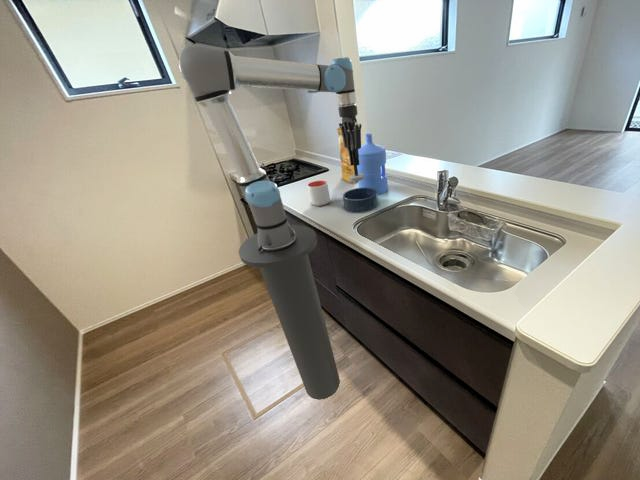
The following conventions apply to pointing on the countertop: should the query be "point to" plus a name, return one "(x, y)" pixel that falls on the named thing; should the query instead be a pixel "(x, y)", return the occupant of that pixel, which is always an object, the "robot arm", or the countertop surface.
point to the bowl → (360, 200)
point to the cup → (319, 193)
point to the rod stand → (355, 176)
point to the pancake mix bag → (345, 159)
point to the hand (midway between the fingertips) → (355, 164)
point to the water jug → (372, 166)
